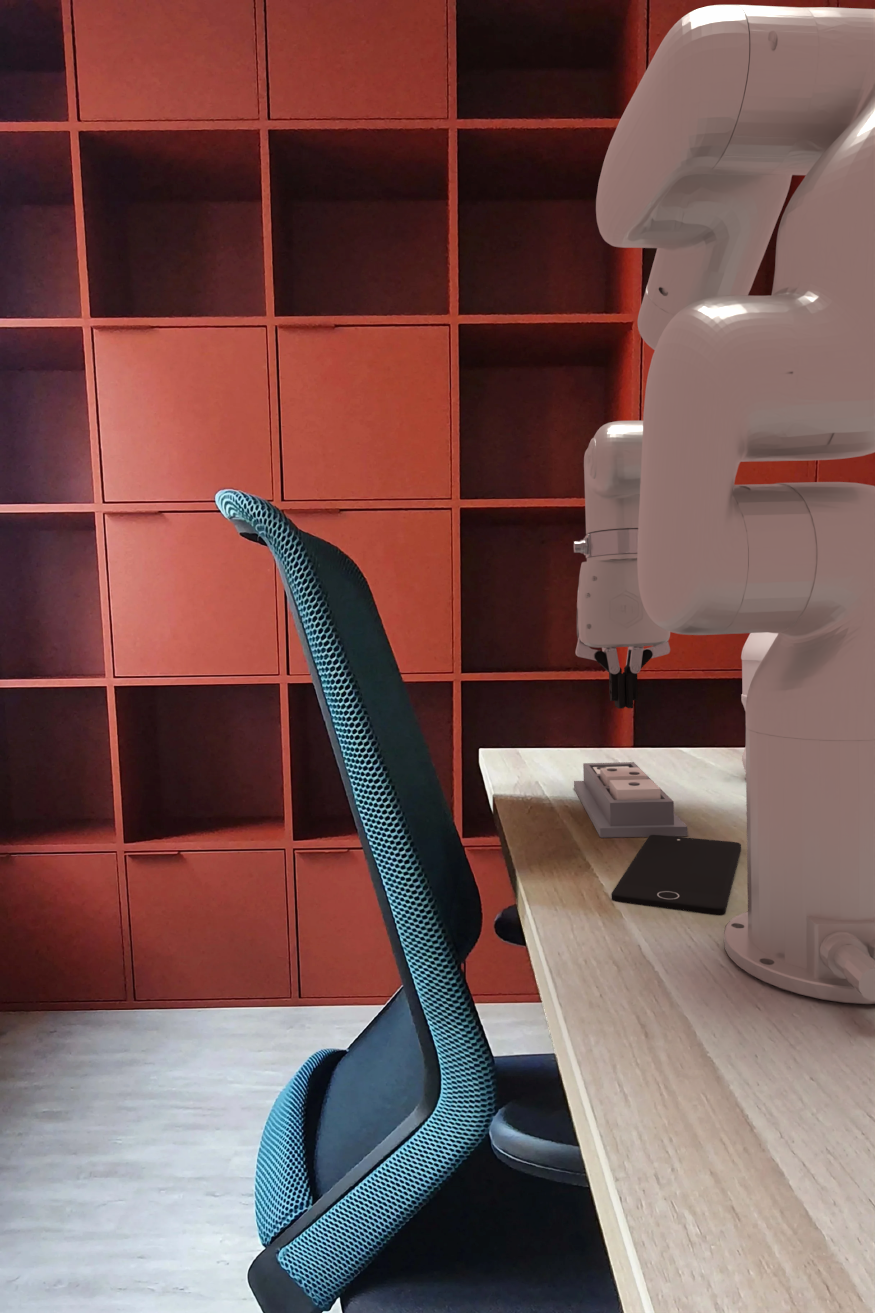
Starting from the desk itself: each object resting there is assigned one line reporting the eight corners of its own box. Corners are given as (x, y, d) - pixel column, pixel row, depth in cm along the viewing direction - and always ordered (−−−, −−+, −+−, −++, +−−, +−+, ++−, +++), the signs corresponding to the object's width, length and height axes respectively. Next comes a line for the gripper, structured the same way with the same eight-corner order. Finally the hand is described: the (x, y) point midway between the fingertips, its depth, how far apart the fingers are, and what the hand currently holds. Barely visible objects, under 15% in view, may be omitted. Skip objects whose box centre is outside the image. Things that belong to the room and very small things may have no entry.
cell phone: (610, 905, 63) (610, 894, 63) (650, 842, 79) (649, 833, 79) (724, 921, 59) (724, 909, 59) (741, 851, 75) (741, 842, 75)
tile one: (660, 807, 81) (660, 788, 81) (617, 808, 82) (616, 789, 81) (651, 796, 86) (650, 778, 86) (609, 797, 86) (609, 779, 86)
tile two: (647, 792, 88) (646, 774, 88) (607, 793, 88) (606, 775, 88) (638, 783, 92) (638, 766, 92) (600, 784, 93) (600, 767, 92)
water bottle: (789, 774, 105) (788, 593, 104) (809, 786, 98) (808, 592, 97) (735, 775, 106) (733, 595, 104) (751, 787, 99) (749, 594, 97)
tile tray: (687, 836, 79) (687, 802, 79) (600, 837, 80) (599, 804, 79) (642, 786, 101) (641, 760, 101) (574, 788, 102) (573, 762, 101)
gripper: (557, 548, 85) (562, 713, 85) (694, 542, 84) (698, 708, 84) (551, 554, 92) (556, 705, 93) (677, 549, 91) (680, 702, 92)
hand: (623, 706), depth 89 cm, fingers closed
